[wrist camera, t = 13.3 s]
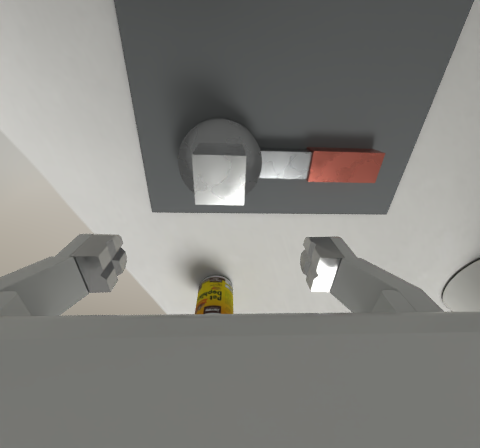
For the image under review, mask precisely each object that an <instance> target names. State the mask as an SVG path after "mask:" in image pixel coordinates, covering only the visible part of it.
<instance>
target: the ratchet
mask: <svg viewBox="0 0 480 448" xmlns="http://www.w3.org/2000/svg"><path fill="white" fill-rule="evenodd" d="M199 143H225V144H242V145H243V147H244V150H245V153H246V174H245V194H244V196H246V195H247V194H248V193H249V192H250V191H251V190H252V189H253V188H254V186H255V185H256V183H257V182H258V179H259V178H279V179H306V180H307V181H308V182H345V183H375V182H376V179H377V176H378V173H379V170H380V167H381V165H382V162H383V159H384V156H385V153H384V152H381V151H378V150H375V149H360V148H325V147H307V149H297V148H261V147H259V146H258V143H257V142H256V140H255V138H254V137H253V135H252V134H251V133H250V131H249V130H248V129H247V128H246V127H244V126H243V125H242V124H240V123H239V122H237V121H235V120H232V119H229V118H223V117H215V118H210V119H207V120H204V121H202V122H200V123H199V124H197V125H196V126H195V127H194V128H192V129H191V130H190V131H189V132H188V133H187V135H186V136H185V137H184V139H183V141H182V143H181V145H180V148H179V153H178V167H179V172H180V175H181V177H182V179H183V181H184V183H185V184H186V186H187V187H188V188H189V189H190V190H191V191H192V192H193V193H194V179H193V165H192V153H193V152H194V150H195V149H196V147H197V146H198V144H199ZM194 194H195V193H194Z"/></svg>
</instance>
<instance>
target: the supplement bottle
mask: <svg viewBox="0 0 480 448" xmlns="http://www.w3.org/2000/svg"><path fill="white" fill-rule="evenodd" d="M195 314H233V287H232V284H231V282H230V281H229V280H228V279H227V278H225V277H222V276H210V277H207V278H205V279H204V280H203V281H202V282H201V284H200V286H199V291H198V297H197V304H196V310H195Z"/></svg>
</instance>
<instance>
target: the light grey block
mask: <svg viewBox="0 0 480 448" xmlns="http://www.w3.org/2000/svg"><path fill="white" fill-rule="evenodd" d="M192 165H193V179H194V193H195V205H244V194H245V174H246V153H245V150H244V147H243V145H242V144H225V143H199V144H198V146H197V147H196V149H195V150H194V152H193V153H192Z"/></svg>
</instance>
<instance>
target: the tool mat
mask: <svg viewBox="0 0 480 448" xmlns="http://www.w3.org/2000/svg"><path fill="white" fill-rule="evenodd" d="M114 2H115V8H116V13H117V19H118V24H119V30H120V35H121V41H122V47H123V52H124V58H125V63H126V69H127V74H128V80H129V85H130V91H131V97H132V102H133V108H134V113H135V119H136V124H137V130H138V135H139V141H140V147H141V152H142V158H143V163H144V169H145V174H146V180H147V186H148V191H149V197H150V202H151V208H152V212H172V213H283V214H387V212H388V209H389V207H390V204H391V202H392V200H393V197H394V195H395V192H396V190H397V187H398V185H399V182H400V180H401V178H402V175H403V173H404V170H405V168H406V165H407V163H408V160H409V158H410V156H411V153H412V151H413V148H414V146H415V143H416V141H417V138H418V136H419V134H420V131H421V129H422V126H423V124H424V121H425V119H426V116H427V114H428V112H429V109H430V107H431V104H432V102H433V99H434V97H435V94H436V92H437V90H438V87H439V85H440V82H441V80H442V77H443V75H444V73H445V70H446V68H447V65H448V63H449V60H450V58H451V55H452V53H453V51H454V48H455V46H456V43H457V41H458V38H459V36H460V33H461V31H462V29H463V26H464V24H465V21H466V19H467V16H468V14H469V11H470V9H471V7H472V4H473V2H474V0H114ZM215 117H223V118H229V119H232V120H235V121H237V122H239V123H240V124H242V125H243V126H244V127H246V128H247V129H248V130H249V131H250V133H251V134H252V135H253V137H254V138H255V140H256V142H257V143H258V146H259V147H261V148H297V149H307V147H325V148H360V149H375V150H378V151H381V152H384V153H385V156H384V159H383V162H382V165H381V167H380V170H379V173H378V176H377V179H376V182H375V183H345V182H308V181H307V180H306V179H279V178H259V179H258V182H257V183H256V185H255V186H254V188H253V189H252V190H251V191H250V192H249V193H248V194H247V195H246V196H244V205H195V194H194V193H193V192H192V191H191V190H190V189H189V188H188V187H187V186H186V184H185V183H184V181H183V179H182V177H181V175H180V172H179V167H178V153H179V148H180V145H181V143H182V141H183V139H184V137H185V136H186V135H187V133H188V132H189V131H190V130H191V129H192V128H194V127H195V126H196V125H197V124H199V123H200V122H202V121H204V120H207V119H210V118H215Z"/></svg>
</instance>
